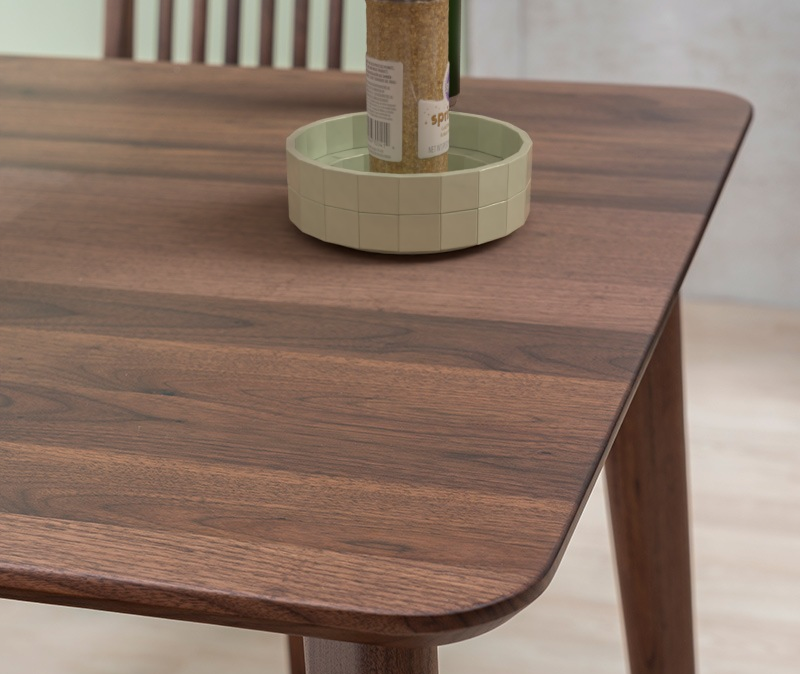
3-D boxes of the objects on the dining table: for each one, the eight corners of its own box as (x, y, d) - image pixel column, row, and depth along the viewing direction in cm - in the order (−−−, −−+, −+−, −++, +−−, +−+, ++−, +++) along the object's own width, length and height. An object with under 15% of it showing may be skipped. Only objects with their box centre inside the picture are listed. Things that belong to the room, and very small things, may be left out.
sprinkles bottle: (459, 220, 67) (464, -46, 61) (376, 227, 66) (372, -42, 60) (437, 194, 71) (439, -58, 65) (358, 200, 70) (353, -54, 64)
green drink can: (439, 89, 96) (440, -78, 90) (472, 105, 91) (476, -70, 86) (374, 97, 93) (372, -74, 88) (406, 114, 89) (405, -65, 84)
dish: (256, 252, 65) (251, 166, 63) (328, 178, 76) (326, 103, 74) (507, 272, 62) (510, 184, 60) (543, 192, 73) (546, 115, 71)
